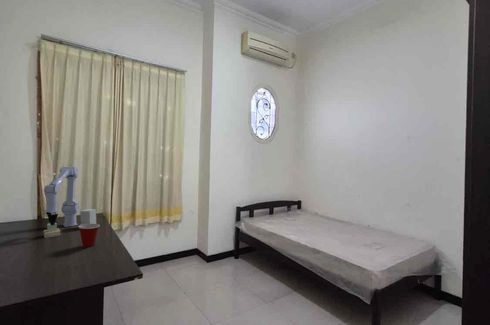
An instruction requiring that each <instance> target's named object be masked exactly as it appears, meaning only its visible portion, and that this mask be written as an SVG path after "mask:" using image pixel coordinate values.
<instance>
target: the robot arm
mask: <svg viewBox="0 0 490 325" xmlns="http://www.w3.org/2000/svg"><path fill="white" fill-rule="evenodd" d="M77 178H79V169H78V167H77V166H61V167H60V169H59V174H58V176H57V177H54V178H53V180H52V181H51V182H50V183H49V184H46V185H45V186H44V189H43V192H44V196H45V197H46V198H45V202H46V204H45V206H46V208H45V210H43V212H44V213H45V214H46V216H47V218H48V222H49V223H48V224H50V225H55V223H57V218H58V215H59V213H57V212H58V193H59V192H60V188H61V186H62V185H63V184H64V179H66V180H67V183H66V184H67V186H66V200H65V201H64V202H63V203H62V206H61V212H62V214H63V215H64V223H62V225H63V226H64V227H65V228H66V227H73V226H79V225H78V223H77V213H78V212H79V210H80V205H79V202H78V201H77V200H75V199H76V194H75V193H76V182H77V180H76V179H77Z"/></svg>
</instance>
